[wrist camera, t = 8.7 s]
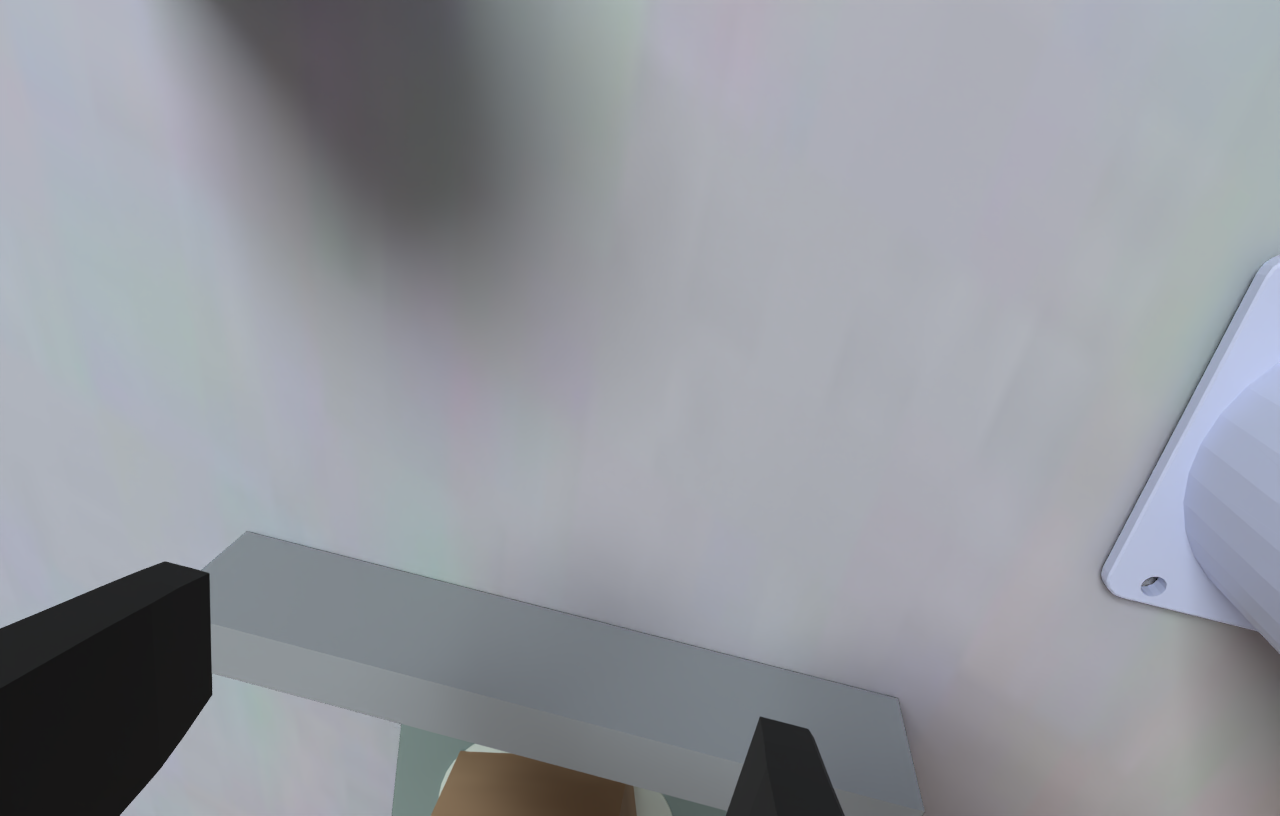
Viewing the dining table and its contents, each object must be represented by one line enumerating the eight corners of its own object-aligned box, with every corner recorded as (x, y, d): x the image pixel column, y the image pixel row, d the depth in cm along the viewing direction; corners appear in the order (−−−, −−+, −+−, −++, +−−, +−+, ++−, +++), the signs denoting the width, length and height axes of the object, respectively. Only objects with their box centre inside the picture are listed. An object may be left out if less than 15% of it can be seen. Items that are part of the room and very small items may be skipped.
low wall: (897, 698, 20) (924, 811, 17) (879, 740, 21) (902, 857, 18) (246, 531, 21) (155, 608, 18) (246, 576, 22) (158, 659, 19)
